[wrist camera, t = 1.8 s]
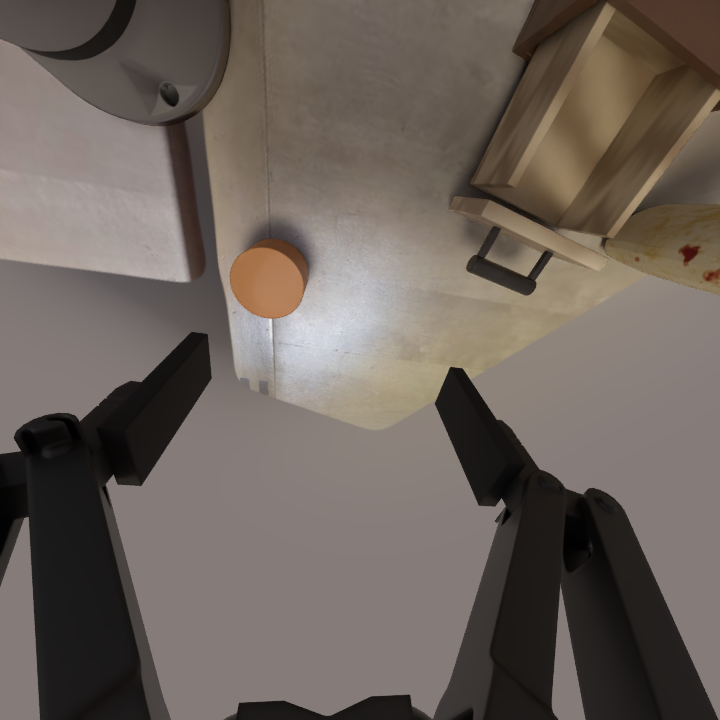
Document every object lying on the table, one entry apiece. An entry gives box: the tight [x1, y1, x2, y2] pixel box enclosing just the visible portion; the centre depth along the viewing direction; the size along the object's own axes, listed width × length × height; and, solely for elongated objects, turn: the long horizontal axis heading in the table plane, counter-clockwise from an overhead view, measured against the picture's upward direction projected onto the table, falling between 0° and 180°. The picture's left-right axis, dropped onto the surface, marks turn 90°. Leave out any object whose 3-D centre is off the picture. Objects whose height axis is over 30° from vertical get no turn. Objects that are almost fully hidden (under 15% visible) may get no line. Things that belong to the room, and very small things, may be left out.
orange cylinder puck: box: [230, 239, 308, 318], centre depth 30 cm, size 7×7×5 cm
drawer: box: [449, 0, 720, 295], centre depth 25 cm, size 20×12×8 cm, turn 159°
